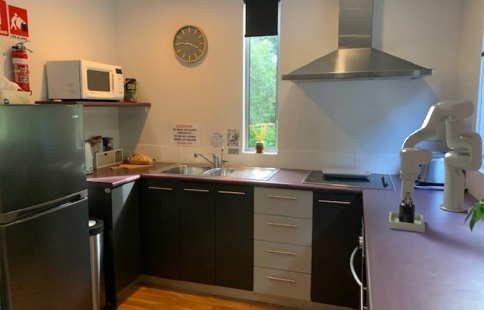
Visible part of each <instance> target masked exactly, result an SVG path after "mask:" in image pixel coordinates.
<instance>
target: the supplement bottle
mask: <svg viewBox="0 0 484 310" xmlns="http://www.w3.org/2000/svg"><path fill="white" fill-rule="evenodd" d="M405 206H406V205H405ZM403 207H404V200H403V201H401V202H400V203H399V205H398V212H399V222H403V223H412V224H414V221H415V214H416V205H415V204H414V199H413V200H412V201H411V215H404V214H403Z"/></svg>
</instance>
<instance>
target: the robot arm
mask: <svg viewBox="0 0 484 310" xmlns="http://www.w3.org/2000/svg"><path fill="white" fill-rule="evenodd" d="M474 111H475V105H474V103H473V102H472V101H470V100H442V101H438V102H437V103H436V104H433V105H432V106H431V107H430V108H429V110H428V112H427V115H426V117H425V118H424V121H423V123H422V125H421V126H420V128H419V129H417V130H415V131H414V132H412V133H411V134H410V135H409V136H408V137H406V139H405V140H404V141H403V143H402V146H401V147H400V151H399V159H400V164H399V165H400V167H399V180H401V188H400V201H401V202H402V201H403V200H404V207H403V214H404V215H411V201H412V200H413V201H414V194H415V193H414V192H415V181H418V176H419V175H418V174H419V165H428V164H429V163H431V162H432V160H433V157H434V155H433V152H432V151H431V150H430V149H428V148H424V147H415V146H417V145H418V144H420V143H422V142H425V141H428V140H432V139H435V138H436V137H438V136H439V135H440V133H441V131H442V129H443V127H444V124H445V139H446V140H445V141H446V145H447V147H448V149H452V150H451V151H450V150H449V151H447V152H446V153H445V154H444V156H443V164H444V184H443V198H442V204H440V205H439V206H438V207H439V209H441V210H443V211H448V212H454V213H462V212H463V213H464V212H466V211H467V208H466V207H465V206H464V200H465V198H464V196H465V184H466V183H465V182H466V177H465V174H464V172H463V171H471V172H476V171H477V172H478V171H479V170H480V169H481V168H482V165H483V140H482V136H481V135H480V134H479V133H478V132H475V131H466V129H465V128H466V127H465V126H466V125H465V123H466V122H465V120H467V119H469V118H471V117H472V116H473V114H474ZM459 150H460V151H459ZM405 205H406V206H405Z"/></svg>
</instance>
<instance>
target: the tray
mask: <svg viewBox="0 0 484 310" xmlns="http://www.w3.org/2000/svg"><path fill="white" fill-rule="evenodd" d="M388 229H395V230H400V231H401V230H402V231H410V232H418V233H419V232H420V233H425V229H426V224H425V220H424V217H423V214H419V213H415V221H414V224H412V223H403V222H399V211H397V212H396V211H389V217H388Z"/></svg>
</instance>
